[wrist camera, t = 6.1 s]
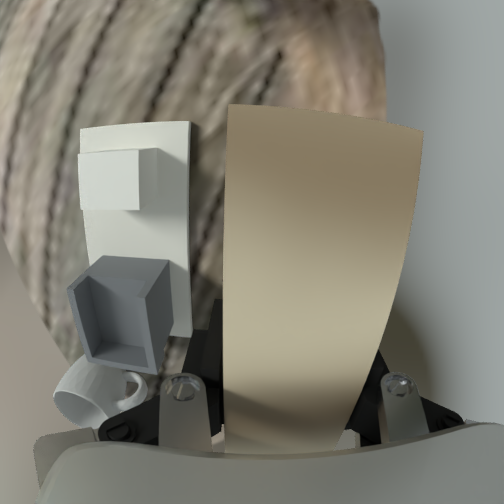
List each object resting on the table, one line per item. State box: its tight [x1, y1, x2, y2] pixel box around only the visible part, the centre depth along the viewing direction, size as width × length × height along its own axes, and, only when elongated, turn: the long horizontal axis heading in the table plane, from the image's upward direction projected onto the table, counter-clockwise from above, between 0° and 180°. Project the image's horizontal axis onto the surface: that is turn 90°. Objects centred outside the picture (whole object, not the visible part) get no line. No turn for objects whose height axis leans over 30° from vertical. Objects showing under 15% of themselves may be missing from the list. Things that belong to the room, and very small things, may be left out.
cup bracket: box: [67, 121, 193, 375], centre depth 26 cm, size 24×12×9 cm, turn 177°
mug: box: [53, 354, 148, 429], centre depth 33 cm, size 13×9×10 cm
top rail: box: [223, 104, 423, 454], centre depth 10 cm, size 16×4×5 cm, turn 177°
